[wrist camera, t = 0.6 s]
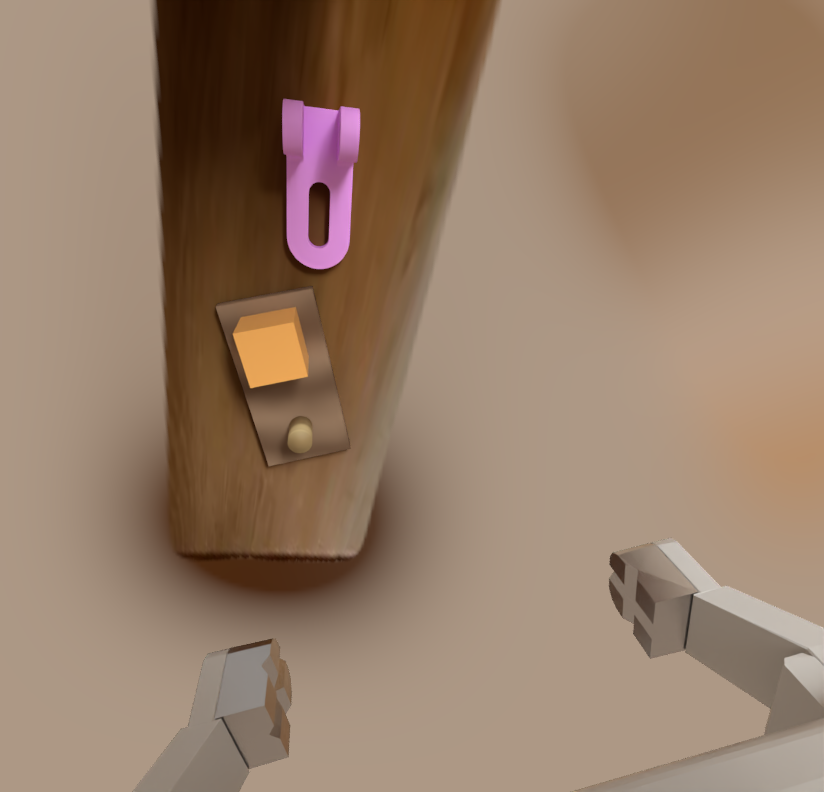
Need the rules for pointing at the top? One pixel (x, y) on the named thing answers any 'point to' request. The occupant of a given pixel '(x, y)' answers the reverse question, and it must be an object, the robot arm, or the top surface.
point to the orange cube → (272, 347)
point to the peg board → (291, 385)
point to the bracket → (319, 176)
